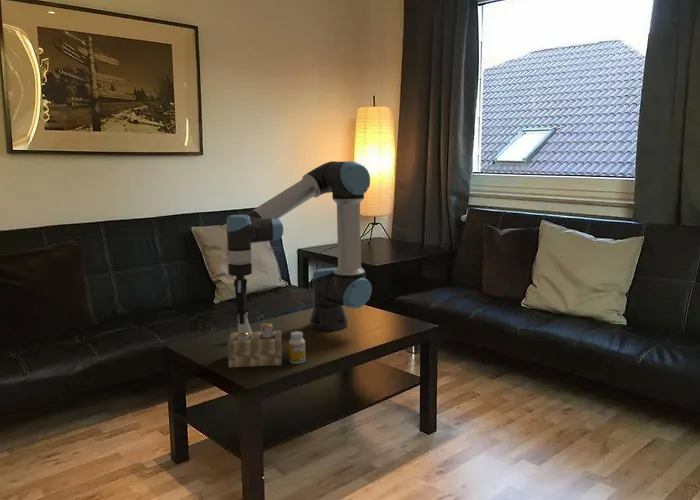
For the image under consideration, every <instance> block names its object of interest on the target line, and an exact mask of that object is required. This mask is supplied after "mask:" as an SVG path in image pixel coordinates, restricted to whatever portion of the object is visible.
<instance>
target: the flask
mask: <svg viewBox="0 0 700 500" xmlns="http://www.w3.org/2000/svg"><path fill="white" fill-rule="evenodd" d="M248 315H249V312H246V323H247V332H253V330H252V327H251V326H250V323H249V319H248ZM236 333H238V331H237V332H236Z"/></svg>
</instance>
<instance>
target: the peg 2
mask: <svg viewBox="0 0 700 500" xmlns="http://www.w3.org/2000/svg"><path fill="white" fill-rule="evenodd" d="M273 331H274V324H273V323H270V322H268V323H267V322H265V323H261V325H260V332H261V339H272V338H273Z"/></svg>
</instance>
